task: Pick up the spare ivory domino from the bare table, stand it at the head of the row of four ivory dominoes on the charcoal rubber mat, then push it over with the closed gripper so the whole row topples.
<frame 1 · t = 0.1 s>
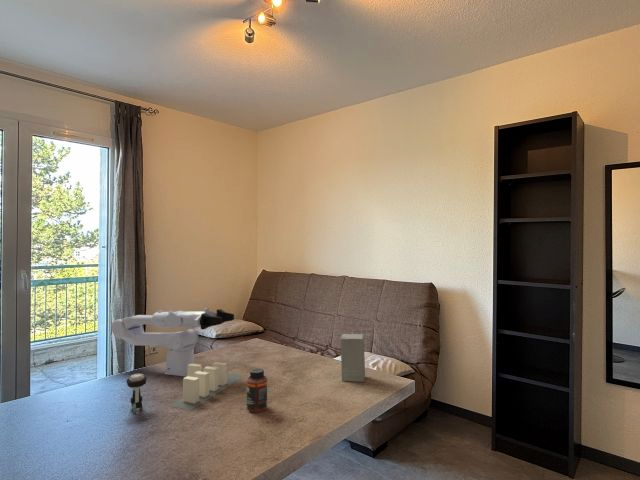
hand: (227, 318, 132), 22 cm above the table, tool horizontal, fingers open, 7 cm apart
push button: (136, 411, 105), on the table
mat: (210, 390, 120), on the table
domino 2: (219, 383, 125), resting on mat
domino 5: (190, 401, 111), resting on mat
domino 4: (201, 394, 116), resting on mat
domino 1: (194, 385, 125), on the table
domino 3: (210, 389, 120), resting on mat
skincare box: (352, 379, 132), on the table
supplement bottle: (256, 409, 107), on the table
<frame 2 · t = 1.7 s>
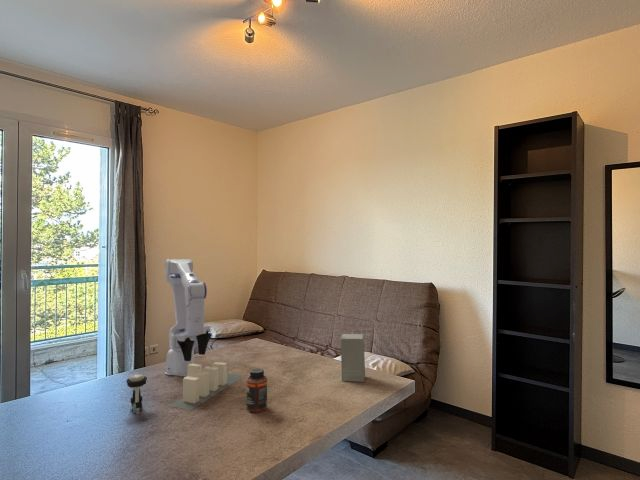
hand: (194, 357, 125), 10 cm above the table, tool pointing down, fingers open, 7 cm apart
nothing on the table moved.
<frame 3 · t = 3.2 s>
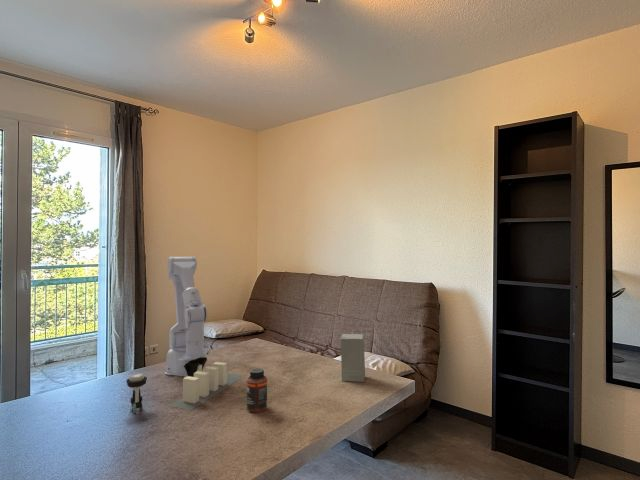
hand: (194, 380, 125), 2 cm above the table, tool pointing down, fingers closed on domino 1, 2 cm apart
domino 1: (194, 385, 125), on the table, touching gripper
everything else where it was.
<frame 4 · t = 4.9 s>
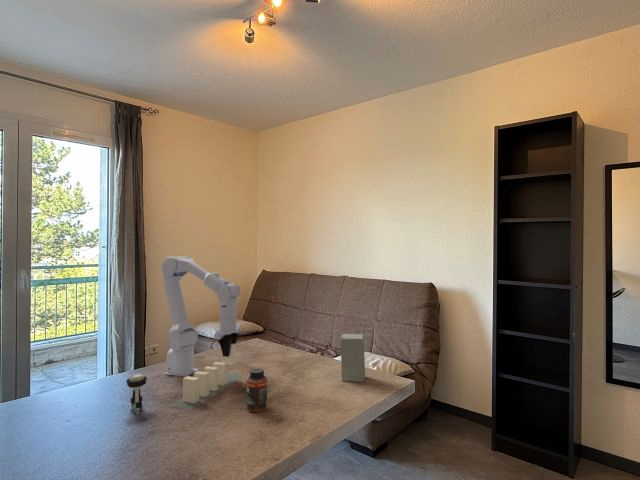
hand: (228, 355, 130), 9 cm above the table, tool pointing down, fingers closed on domino 1
domino 1: (228, 363, 130), point 6 cm above the table, touching gripper
everything else where it was.
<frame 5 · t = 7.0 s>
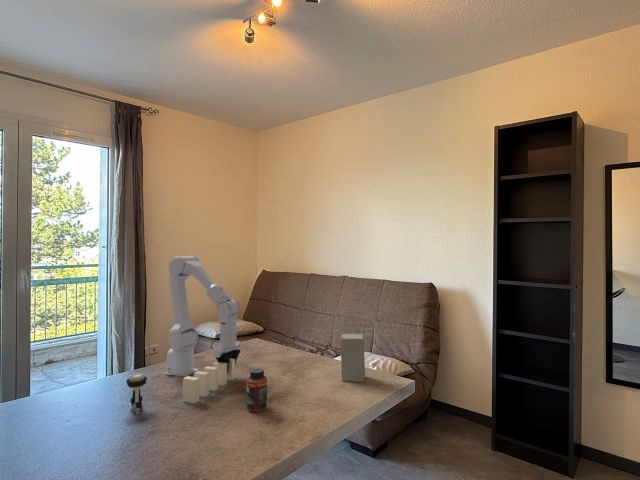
hand: (227, 372, 130), 3 cm above the table, tool pointing down, fingers open, 4 cm apart
domino 1: (227, 378, 130), resting on mat
everything else where it was.
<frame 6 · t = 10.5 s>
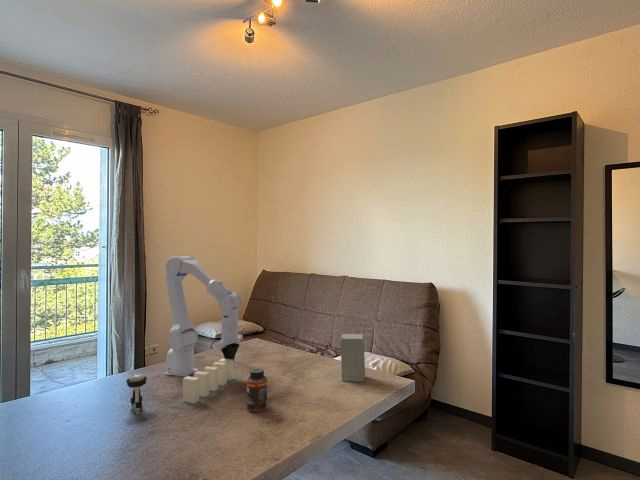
hand: (229, 364, 131), 5 cm above the table, tool pointing down, fingers closed
domino 1: (227, 378, 130), point 1 cm above the table, tilted 11°, touching gripper, mat
everything else where it was.
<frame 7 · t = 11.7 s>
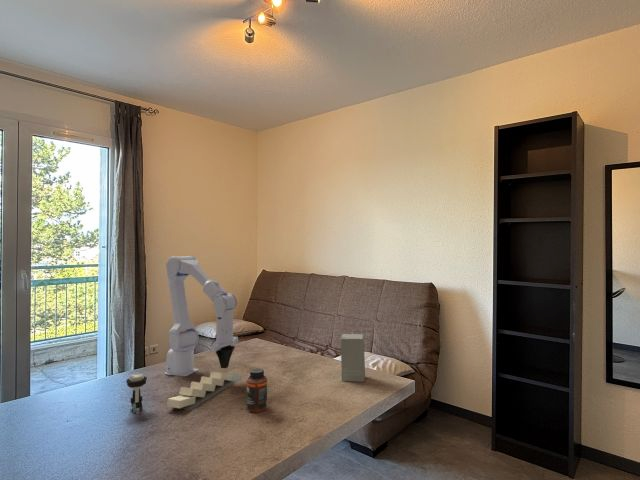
hand: (224, 367, 128), 5 cm above the table, tool pointing down, fingers closed
domino 2: (218, 382, 124), point 1 cm above the table, tilted 66°, touching domino 1, domino 3, mat
domino 5: (189, 399, 110), point 1 cm above the table, tilted 78°, touching domino 4
domino 4: (199, 393, 115), point 1 cm above the table, tilted 65°, touching domino 5
domino 1: (226, 377, 129), point 1 cm above the table, tilted 67°, touching domino 2
domino 3: (209, 387, 120), point 1 cm above the table, tilted 66°, touching domino 2, mat
everything else where it was.
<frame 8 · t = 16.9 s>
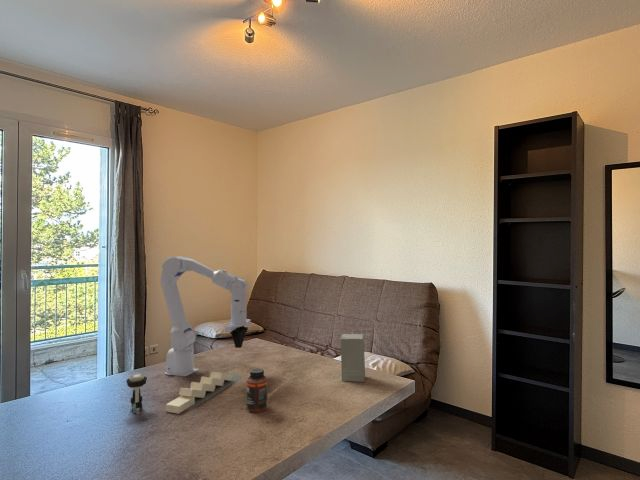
hand: (238, 347, 137), 10 cm above the table, tool pointing down, fingers closed
domino 5: (188, 399, 110), point 1 cm above the table, tilted 90°, touching domino 4, mat
domino 4: (199, 393, 115), point 1 cm above the table, tilted 67°, touching domino 3, domino 5, mat
domino 1: (226, 377, 129), point 1 cm above the table, tilted 67°, touching domino 2, mat
domino 3: (209, 387, 120), point 1 cm above the table, tilted 67°, touching domino 2, domino 4, mat
everything else where it was.
at the end: domino 5 tilted 90°; domino 3 tilted 67° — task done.
